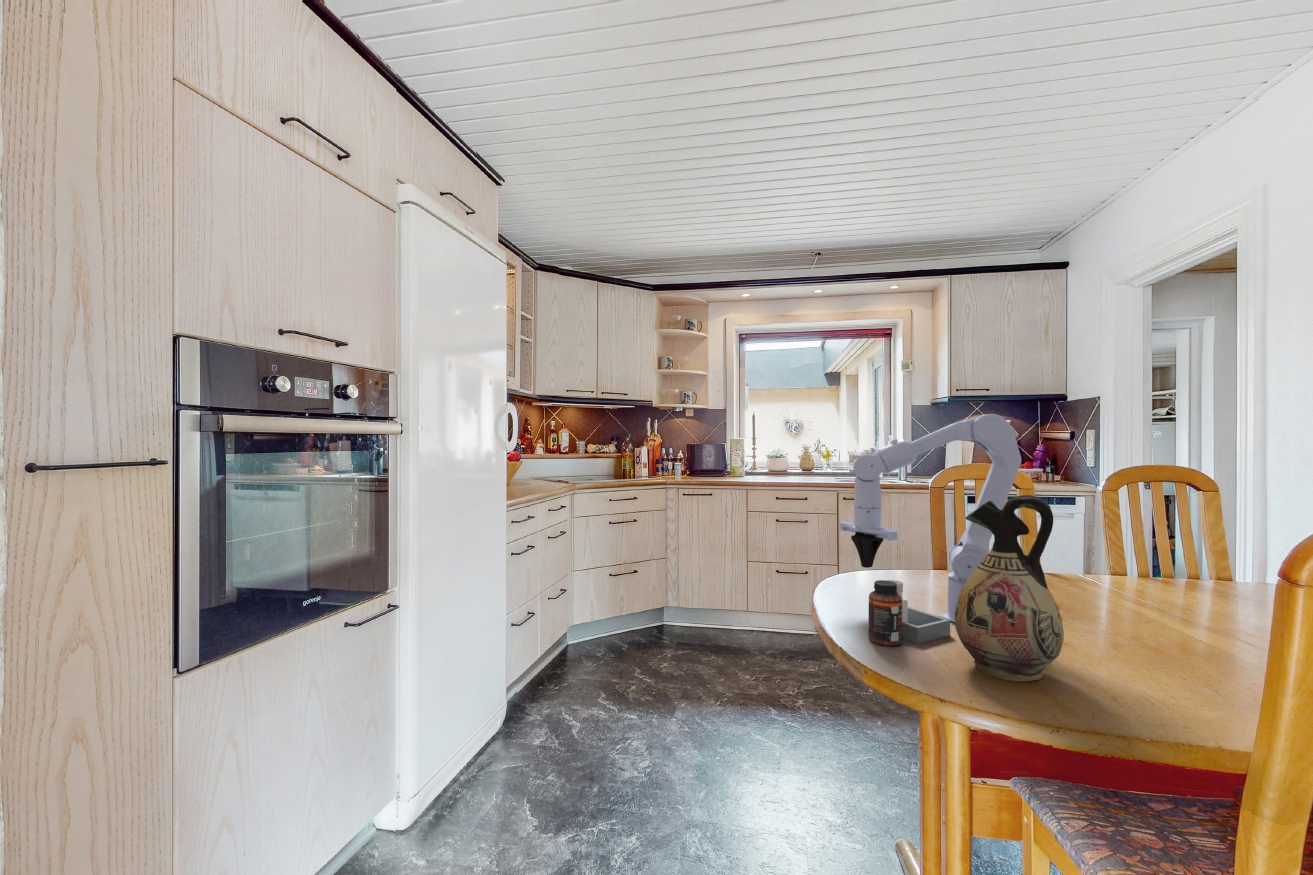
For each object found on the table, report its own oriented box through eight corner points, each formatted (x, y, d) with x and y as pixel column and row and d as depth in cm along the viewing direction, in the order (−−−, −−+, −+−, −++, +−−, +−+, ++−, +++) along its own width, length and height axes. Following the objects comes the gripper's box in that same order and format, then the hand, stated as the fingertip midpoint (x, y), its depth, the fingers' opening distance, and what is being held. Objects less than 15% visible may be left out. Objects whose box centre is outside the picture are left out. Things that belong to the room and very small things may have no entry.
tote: (903, 619, 118) (903, 605, 118) (950, 635, 109) (950, 620, 109) (872, 626, 114) (872, 611, 114) (918, 643, 104) (918, 628, 104)
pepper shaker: (891, 623, 116) (891, 578, 116) (908, 629, 112) (909, 582, 112) (879, 627, 114) (879, 581, 113) (896, 633, 110) (897, 585, 110)
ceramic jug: (944, 673, 92) (945, 493, 91) (964, 646, 103) (965, 486, 103) (1072, 706, 81) (1074, 502, 80) (1078, 671, 93) (1080, 493, 92)
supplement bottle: (905, 648, 102) (905, 587, 102) (871, 645, 103) (871, 585, 103) (898, 636, 108) (898, 579, 108) (865, 634, 109) (866, 577, 109)
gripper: (830, 504, 130) (830, 561, 130) (881, 512, 117) (881, 576, 118) (852, 502, 134) (851, 558, 134) (904, 510, 121) (903, 572, 121)
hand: (867, 566), depth 126 cm, fingers closed
